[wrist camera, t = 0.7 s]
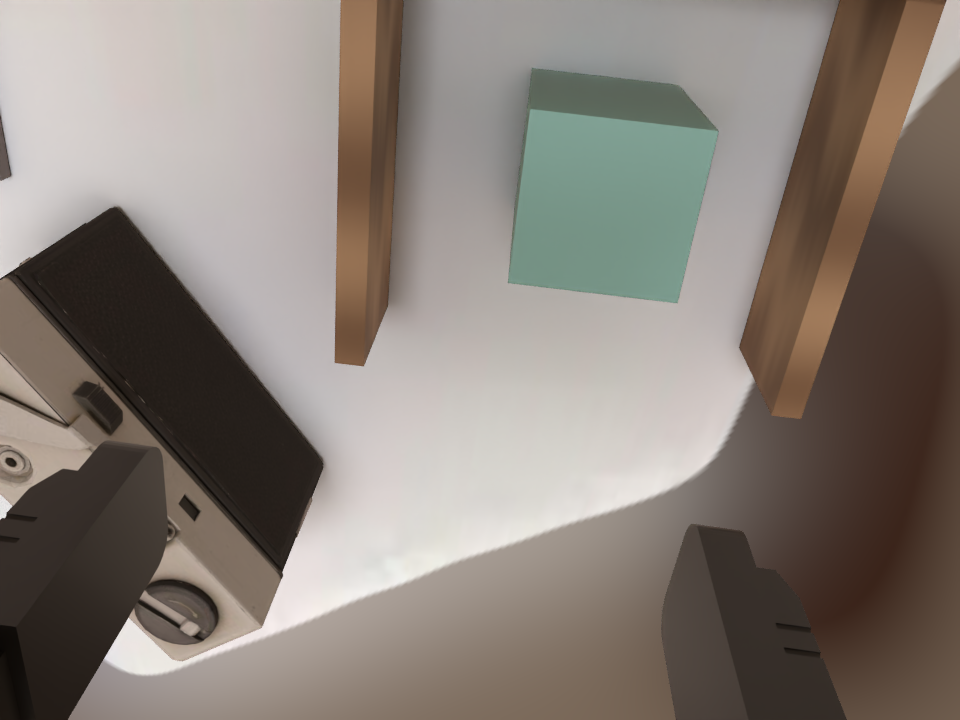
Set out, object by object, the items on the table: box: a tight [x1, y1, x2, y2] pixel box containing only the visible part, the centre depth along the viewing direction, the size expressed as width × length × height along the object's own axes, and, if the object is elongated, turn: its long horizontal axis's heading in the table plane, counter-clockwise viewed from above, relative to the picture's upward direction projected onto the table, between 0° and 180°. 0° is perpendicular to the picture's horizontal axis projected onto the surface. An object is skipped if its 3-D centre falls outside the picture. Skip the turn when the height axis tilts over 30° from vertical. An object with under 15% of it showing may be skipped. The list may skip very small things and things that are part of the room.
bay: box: [335, 0, 946, 419], centre depth 26 cm, size 14×16×5 cm
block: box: [508, 68, 719, 303], centre depth 25 cm, size 5×5×7 cm
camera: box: [0, 207, 323, 661], centre depth 30 cm, size 14×8×10 cm, turn 31°
